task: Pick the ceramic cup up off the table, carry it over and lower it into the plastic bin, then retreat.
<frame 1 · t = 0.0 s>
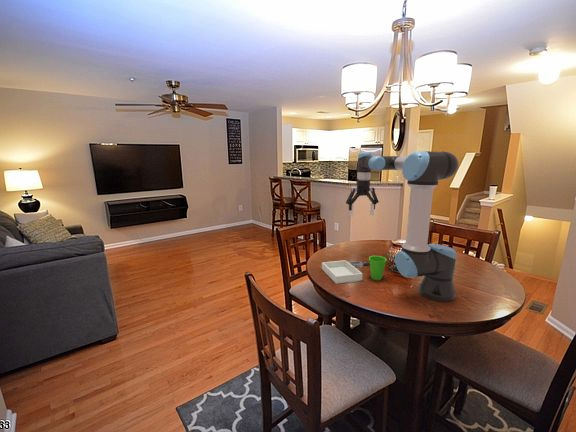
hand: (361, 215, 170), 28 cm above the table, fingers open, 13 cm apart
bin: (340, 274, 153), on the table
scoop: (356, 266, 165), on the table
cup: (376, 278, 149), on the table
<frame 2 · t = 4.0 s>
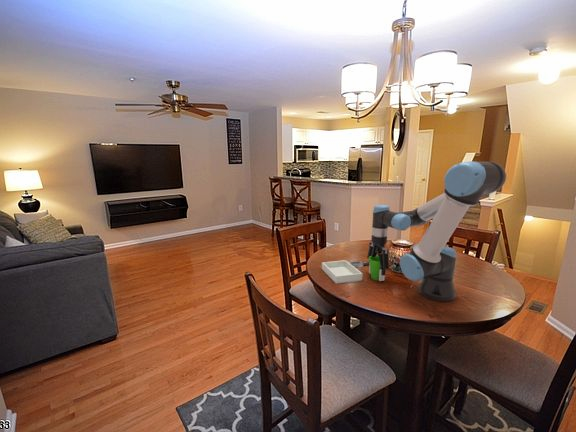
hand: (376, 276, 149), 1 cm above the table, fingers closed on cup, 9 cm apart
cup: (376, 278, 149), on the table, touching gripper
everything else where it was.
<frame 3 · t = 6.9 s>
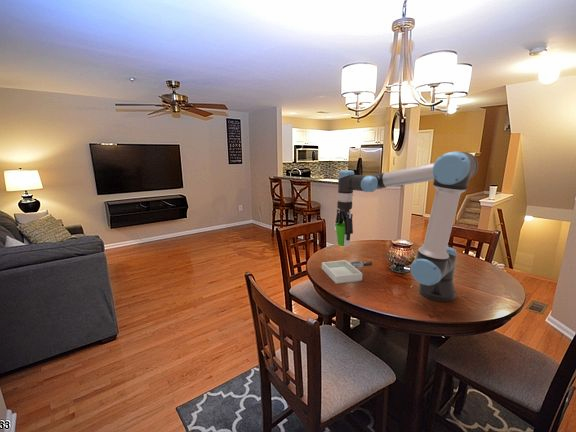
hand: (342, 242, 150), 18 cm above the table, fingers closed on cup, 9 cm apart
cup: (342, 245, 150), point 17 cm above the table, touching gripper
everything else where it was.
when the fingers open (4 cm above the table, at t = 10.0 s): cup drops 2 cm, resting on bin.
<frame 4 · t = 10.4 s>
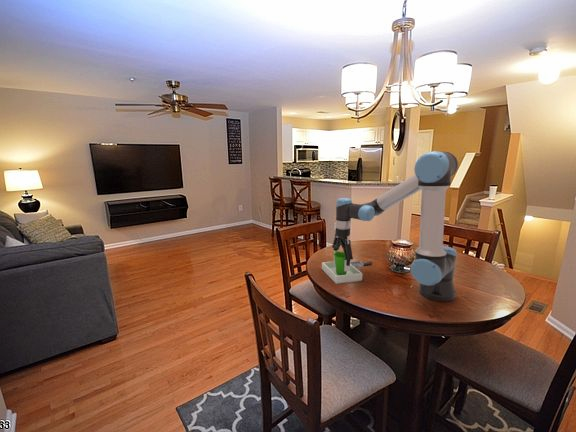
hand: (341, 266, 152), 5 cm above the table, fingers open, 13 cm apart
cup: (341, 274, 153), resting on bin
everything else where it was.
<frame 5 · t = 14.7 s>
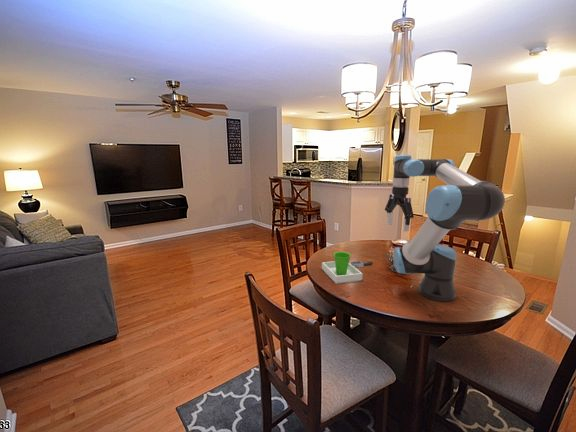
hand: (397, 227, 146), 27 cm above the table, fingers open, 13 cm apart
nothing on the table moved.
at the end: cup inside the target area on the bin (0.3 cm from its centre), point 0.4 cm above the bin's base; cup tilted 0°; the gripper is holding nothing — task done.
